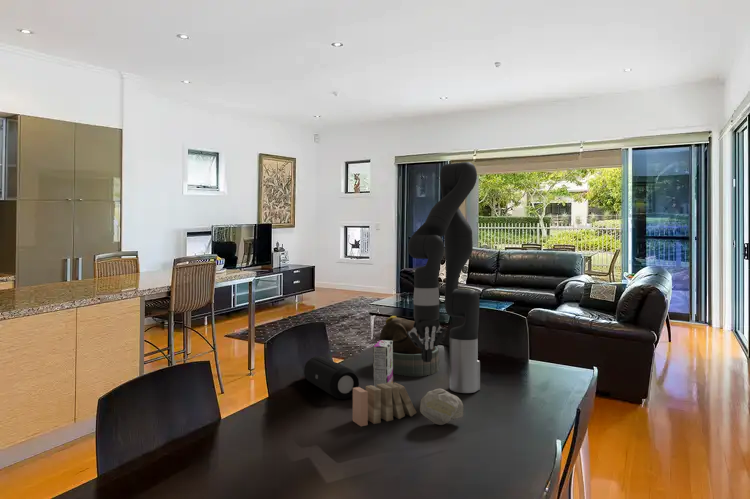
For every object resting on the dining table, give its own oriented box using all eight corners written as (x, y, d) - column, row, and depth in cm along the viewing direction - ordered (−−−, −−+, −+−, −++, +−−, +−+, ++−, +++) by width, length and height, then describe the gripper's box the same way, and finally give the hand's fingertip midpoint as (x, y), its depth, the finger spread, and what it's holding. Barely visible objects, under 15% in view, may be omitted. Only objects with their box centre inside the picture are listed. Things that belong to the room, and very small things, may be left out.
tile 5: (359, 419, 135) (359, 387, 135) (367, 425, 131) (367, 391, 131) (352, 420, 134) (352, 387, 134) (360, 426, 130) (361, 392, 130)
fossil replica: (458, 419, 135) (458, 383, 135) (469, 430, 127) (469, 391, 127) (416, 421, 133) (416, 385, 133) (424, 432, 125) (425, 393, 125)
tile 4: (371, 417, 137) (371, 385, 137) (380, 422, 133) (380, 389, 133) (365, 418, 136) (365, 386, 136) (374, 423, 132) (374, 390, 132)
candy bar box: (379, 387, 167) (379, 339, 168) (393, 388, 166) (393, 340, 167) (372, 397, 156) (372, 345, 157) (387, 398, 155) (387, 346, 156)
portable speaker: (301, 384, 171) (301, 356, 171) (327, 381, 176) (327, 353, 176) (333, 404, 149) (333, 371, 149) (361, 399, 154) (361, 367, 155)
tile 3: (384, 414, 139) (382, 383, 139) (393, 419, 135) (391, 387, 134) (377, 416, 138) (376, 384, 138) (386, 421, 134) (385, 388, 133)
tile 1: (406, 407, 143) (394, 382, 141) (416, 412, 138) (404, 386, 136) (401, 411, 142) (389, 386, 140) (411, 416, 138) (398, 390, 136)
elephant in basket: (372, 367, 197) (372, 313, 197) (432, 366, 200) (432, 312, 200) (378, 382, 174) (378, 321, 174) (446, 380, 177) (447, 320, 177)
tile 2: (395, 410, 141) (388, 382, 140) (405, 416, 137) (397, 386, 135) (390, 413, 140) (382, 384, 139) (399, 419, 136) (391, 389, 134)
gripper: (414, 305, 137) (415, 367, 137) (452, 302, 143) (452, 361, 143) (400, 303, 143) (401, 361, 144) (437, 300, 150) (437, 356, 150)
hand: (426, 361), depth 143 cm, fingers closed
